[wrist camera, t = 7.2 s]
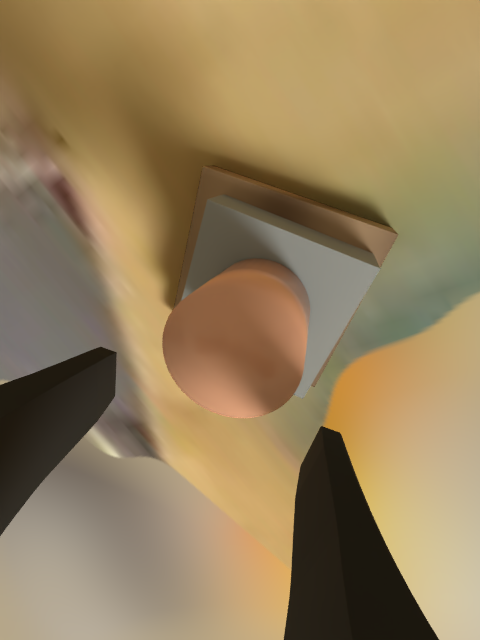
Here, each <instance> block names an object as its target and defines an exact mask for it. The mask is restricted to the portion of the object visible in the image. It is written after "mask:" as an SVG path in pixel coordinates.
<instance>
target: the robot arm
mask: <svg viewBox="0 0 480 640" xmlns="http://www.w3.org/2000/svg"><path fill="white" fill-rule="evenodd" d="M116 353H117V352H114V351H111V350H108V349H105V348H103V347H99V348H96V349H93V350H91V351H88V352H86V353H83V354H81V355H78V356H76V357H73V358H71V359H68V360H66V361H63V362H61V363H58V364H56V365H53V366H51V367H48V368H45V369H43V370H40V371H38V372H35V373H33V374H30V375H27V376H24V377H21V378H19V379H16V380H13V381H10V382H7V383H4V384H2V385H0V536H1V534H2V533H3V532H4V530H5V528H6V527H7V526H8V525H9V523H10V522H11V521H12V519H13V518H14V517H15V515H16V514H17V513H18V512H19V510H20V509H21V508H22V506H23V505H24V504H25V502H26V501H27V500H28V499H29V497H30V496H31V495H32V493H33V492H34V491H35V490H36V488H37V487H38V486H39V485H40V483H41V482H42V481H43V480H44V479H45V478H46V477H47V476H48V474H49V473H50V472H51V471H52V470H53V469H54V468H55V467H56V466H57V465H58V464H59V462H60V461H61V460H62V459H63V458H64V457H65V456H66V455H67V454H68V452H70V451H71V449H72V448H73V447H74V446H75V445H76V444H77V443H78V442H79V441H80V440H81V439H82V437H83V436H84V435H85V434H86V433H87V432H88V431H89V430H90V429H91V427H92V426H93V425H94V424H95V423H96V422H97V421H98V419H99V418H100V417H101V415H102V414H103V413H104V411H105V410H106V408H107V407H108V406H109V404H110V403H111V401H112V400H113V398H114V397H115V382H116ZM289 598H290V599H289V605H288V613H287V620H286V627H285V635H284V640H439V639H438V637H437V636H436V634H435V632H434V631H433V629H432V628H431V626H430V624H429V623H428V621H427V619H426V618H425V616H424V614H423V612H422V611H421V609H420V607H419V605H418V604H417V602H416V600H415V598H414V597H413V595H412V593H411V591H410V590H409V588H408V586H407V584H406V582H405V580H404V578H403V576H402V575H401V573H400V571H399V569H398V567H397V565H396V563H395V561H394V559H393V558H392V555H391V553H390V552H389V549H388V547H387V546H386V543H385V541H384V539H383V537H382V535H381V533H380V531H379V529H378V526H377V524H376V522H375V520H374V517H373V515H372V513H371V511H370V508H369V506H368V503H367V501H366V499H365V496H364V494H363V492H362V489H361V487H360V484H359V482H358V479H357V477H356V474H355V471H354V469H353V466H352V463H351V461H350V458H349V455H348V452H347V450H346V447H345V444H344V441H343V438H342V436H341V434H340V433H339V432H336V431H334V430H331V429H328V428H325V427H323V426H321V427H320V429H319V431H318V433H317V435H316V437H315V439H314V441H313V443H312V445H311V447H310V449H309V451H308V453H307V455H306V457H305V459H304V461H303V462H302V464H301V467H300V473H299V479H298V485H297V491H296V498H295V513H294V532H293V552H292V571H291V586H290V597H289Z"/></svg>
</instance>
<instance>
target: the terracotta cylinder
mask: <svg viewBox="0 0 480 640" xmlns="http://www.w3.org/2000/svg"><path fill="white" fill-rule="evenodd" d="M309 321H310V301H309V297H308V294H307V291H306V289H305V287H304V285H303V284H302V282H301V281H300V279H299V278H298V277H297V276H296V275H295V274H294V273H293V272H292V271H291V270H290V269H288V268H287V267H285V266H283V265H282V264H280V263H277V262H275V261H272V260H268V259H262V258H252V259H246V260H242V261H239V262H236V263H234V264H232V265H231V266H229V267H227V268H226V269H225V270H223V271H222V272H221V273H219V274H218V275H216V276H215V277H214V278H212V279H211V280H209V281H208V282H207V283H205V284H204V285H202V286H201V287H200V288H198V289H197V290H195V291H194V292H193V293H191V294H190V295H188V296H187V297H186V298H184V299H183V300H182V301H181V302H180V303H179V304H178V305H177V306H176V307H175V308H174V309H173V311H172V312H171V314H170V315H169V317H168V320H167V322H166V325H165V328H164V332H163V345H162V346H163V354H164V359H165V362H166V365H167V368H168V370H169V372H170V374H171V376H172V378H173V379H174V381H175V382H176V384H177V385H178V386H179V388H180V389H181V390H182V391H183V392H184V393H185V394H186V395H187V396H188V397H189V398H190V399H191V400H193V401H194V402H195V403H197V404H198V405H200V406H202V407H203V408H205V409H207V410H209V411H211V412H214V413H217V414H219V415H223V416H227V417H233V418H253V417H258V416H262V415H265V414H268V413H270V412H273V411H275V410H277V409H278V408H280V407H281V406H282V405H284V404H285V403H286V402H287V401H288V400H289V399H290V398H291V397H292V396H293V394H294V393H295V391H296V390H297V388H298V386H299V384H300V381H301V379H302V375H303V371H304V363H305V355H306V346H307V338H308V330H309Z"/></svg>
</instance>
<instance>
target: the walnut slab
mask: <svg viewBox="0 0 480 640" xmlns="http://www.w3.org/2000/svg"><path fill="white" fill-rule="evenodd" d="M223 194H225V195H227V196H230V197H232V198H235V199H237V200H240V201H242V202H245V203H247V204H250V205H252V206H255V207H257V208H260V209H262V210H265V211H267V212H270V213H273V214H275V215H278V216H280V217H283V218H285V219H288V220H290V221H293V222H295V223H298V224H300V225H303V226H305V227H308V228H310V229H313V230H315V231H318V232H320V233H323V234H325V235H328V236H330V237H333V238H335V239H338V240H340V241H343V242H345V243H348V244H350V245H353V246H355V247H358V248H360V249H363V250H365V251H368V252H370V253H373V254H374V256H375V258H376V260H377V262H378V264H379V267H381V265H382V263H383V262H384V260H385V258H386V256H387V254H388V253H389V251H390V249H391V247H392V245H393V243H394V242H395V240H396V238H397V236H398V234H397V233H396V232H395V230H394V229H393V228H391V227H388V226H385V225H382V224H379V223H376V222H374V221H371V220H368V219H365V218H362V217H359V216H356V215H354V214H351V213H348V212H345V211H342V210H339V209H336V208H333V207H331V206H328V205H325V204H322V203H319V202H316V201H313V200H311V199H308V198H305V197H302V196H299V195H296V194H293V193H291V192H288V191H285V190H282V189H279V188H276V187H273V186H270V185H268V184H265V183H262V182H259V181H256V180H253V179H250V178H248V177H245V176H242V175H239V174H236V173H233V172H230V171H228V170H225V169H222V168H219V167H216V166H203V168H202V173H201V178H200V183H199V188H198V193H197V198H196V202H195V207H194V212H193V217H192V222H191V227H190V232H189V237H188V242H187V246H186V251H185V256H184V261H183V266H182V271H181V276H180V281H179V286H178V290H177V295H176V300H175V305H174V308H175V307H176V306H177V305H178V304H179V303H180V302H181V300H182V296H183V293H184V289H185V285H186V281H187V277H188V273H189V269H190V265H191V261H192V257H193V254H194V250H195V246H196V242H197V238H198V234H199V230H200V226H201V222H202V219H203V215H204V211H205V207H206V203H207V199H210V198H213V197H217V196H220V195H223ZM367 291H368V290H367ZM364 296H365V295H364ZM363 298H364V297H363ZM362 300H363V299H362ZM362 300H361V302H362ZM361 302H360V303H361ZM359 305H360V304H359ZM359 305H358V307H359ZM358 307H357V309H358ZM357 309H356V310H355V312H356V311H357ZM355 312H354V314H355ZM354 314H353V315H352V317H351V319H350V320H349V322H348V324H347V325H346V327H345V329H344V331H343V332H342V334H341V336H340V337H339V339H338V341H337V342H336V344H335V346H334V347H333V349H332V351H331V352H330V354H329V356H328V357H327V359H326V361H325V362H324V364H323V366H322V367H321V369H320V371H319V372H318V374H317V376H316V377H315V379H314V381H313V382H312V384H311V386H313V387H315V385H316V383H317V381H318V380H319V378H320V376H321V374H322V372H323V371H324V369H325V367H326V365H327V363H328V361H329V360H330V358H331V356H332V354H333V352H334V351H335V349H336V347H337V345H338V343H339V342H340V340H341V338H342V336H343V334H344V332H345V331H346V329H347V327H348V325H349V323H350V322H351V320H352V318H353V316H354Z"/></svg>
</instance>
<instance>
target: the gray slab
mask: <svg viewBox="0 0 480 640" xmlns="http://www.w3.org/2000/svg"><path fill="white" fill-rule="evenodd" d="M252 258H262V259H268V260H272V261H275V262H277V263H280V264H282V265H283V266H285V267H287V268H288V269H290V270H291V271H292V272H293V273H294V274H295V275H296V276H297V277H298V278H299V279H300V281H301V282H302V284H303V285H304V287H305V289H306V291H307V294H308V297H309V301H310V321H309V330H308V338H307V346H306V355H305V363H304V371H303V375H302V379H301V381H300V384H299V386H298V388H297V390H296V391H295V393H294V394H293V395H295V396H298V397H300V398H302V399H303V398H304V396H305V394H306V393H307V391H308V389H309V388H310V386H311V384H312V382H313V381H314V379H315V377H316V376H317V374H318V372H319V371H320V369H321V367H322V366H323V364H324V362H325V361H326V359H327V357H328V356H329V354H330V352H331V351H332V349H333V347H334V346H335V344H336V342H337V341H338V339H339V337H340V336H341V334H342V332H343V331H344V329H345V327H346V325H347V324H348V322H349V320H350V319H351V317H352V315H353V314H354V312H355V310H356V309H357V307H358V305H359V304H360V302H361V300H362V299H363V297H364V295H365V294H366V292H367V290H368V289H369V287H370V285H371V284H372V282H373V280H374V279H375V277H376V275H377V273H378V272H379V270H380V267H379V264H378V262H377V260H376V258H375V256H374V254H373V253H370V252H368V251H365V250H363V249H360V248H358V247H355V246H353V245H350V244H348V243H345V242H343V241H340V240H338V239H335V238H333V237H330V236H328V235H325V234H323V233H320V232H318V231H315V230H313V229H310V228H308V227H305V226H303V225H300V224H298V223H295V222H293V221H290V220H288V219H285V218H283V217H280V216H278V215H275V214H273V213H270V212H267V211H265V210H262V209H260V208H257V207H255V206H252V205H250V204H247V203H245V202H242V201H240V200H237V199H235V198H232V197H230V196H227V195H225V194H223V195H220V196H217V197H213V198H210V199H207V203H206V207H205V211H204V215H203V219H202V222H201V226H200V230H199V234H198V238H197V242H196V246H195V250H194V254H193V257H192V261H191V265H190V269H189V273H188V277H187V281H186V285H185V289H184V293H183V296H182V300H183V299H184V298H186V297H187V296H188V295H190V294H191V293H193V292H194V291H195V290H197V289H198V288H200V287H201V286H202V285H204V284H205V283H207V282H208V281H209V280H211V279H212V278H214V277H215V276H216V275H218V274H219V273H221V272H222V271H223V270H225V269H226V268H227V267H229V266H231V265H232V264H234V263H236V262H239V261H242V260H246V259H252ZM182 300H181V301H182Z"/></svg>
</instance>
